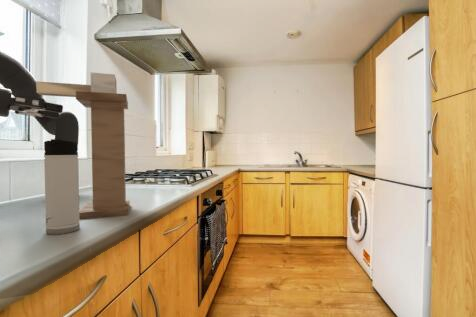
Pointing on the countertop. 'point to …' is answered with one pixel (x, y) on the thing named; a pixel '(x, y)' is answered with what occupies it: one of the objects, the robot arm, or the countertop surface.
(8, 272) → the countertop surface
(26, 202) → the countertop surface
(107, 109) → the stand
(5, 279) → the countertop surface
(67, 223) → the travel mug
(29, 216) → the countertop surface
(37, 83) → the mallet
